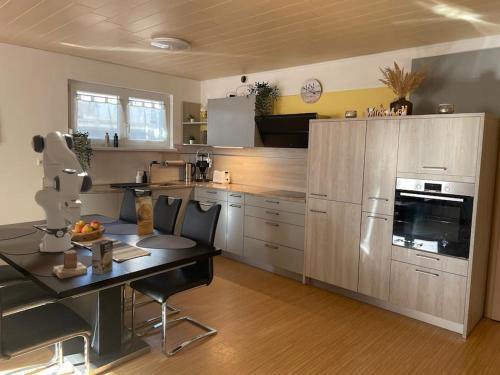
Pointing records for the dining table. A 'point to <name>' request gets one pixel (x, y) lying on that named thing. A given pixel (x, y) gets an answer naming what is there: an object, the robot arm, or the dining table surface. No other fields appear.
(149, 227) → the pancake mix bag
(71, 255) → the walnut block
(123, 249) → the dining table surface
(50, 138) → the robot arm
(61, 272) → the base slab
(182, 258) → the dining table surface
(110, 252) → the coffee box
